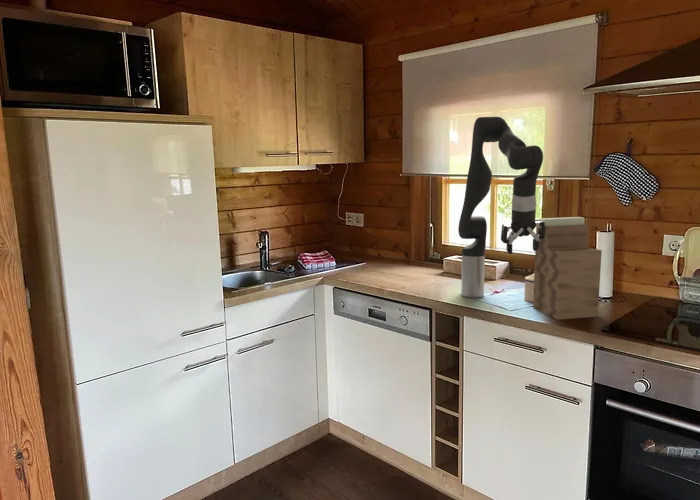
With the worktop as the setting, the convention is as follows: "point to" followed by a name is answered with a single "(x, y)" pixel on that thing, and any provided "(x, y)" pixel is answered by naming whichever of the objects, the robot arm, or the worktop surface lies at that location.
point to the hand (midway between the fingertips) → (522, 251)
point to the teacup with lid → (529, 288)
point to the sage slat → (562, 221)
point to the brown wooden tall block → (566, 273)
